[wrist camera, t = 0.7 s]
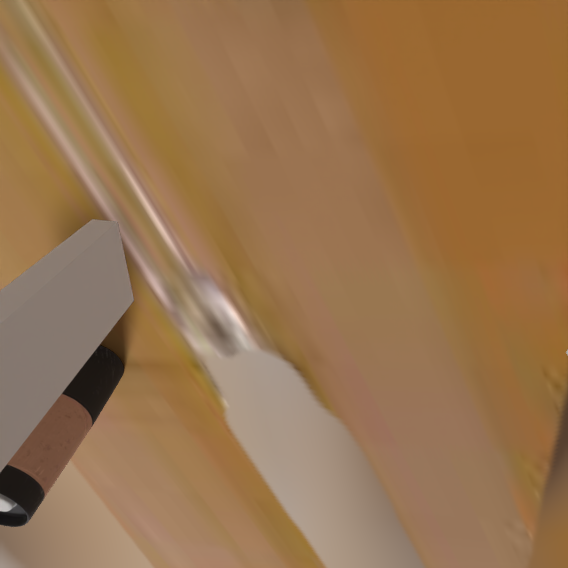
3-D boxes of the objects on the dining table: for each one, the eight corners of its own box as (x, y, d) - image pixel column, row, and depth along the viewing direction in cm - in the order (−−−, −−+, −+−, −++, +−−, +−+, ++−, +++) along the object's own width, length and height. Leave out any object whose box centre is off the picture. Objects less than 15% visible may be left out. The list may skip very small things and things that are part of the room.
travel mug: (120, 389, 59) (27, 536, 42) (69, 368, 58) (-46, 509, 41) (131, 356, 55) (32, 504, 38) (76, 333, 54) (-49, 474, 37)
